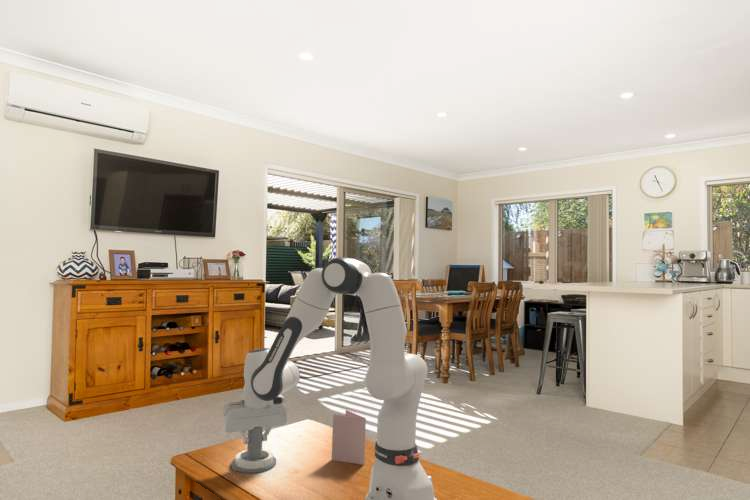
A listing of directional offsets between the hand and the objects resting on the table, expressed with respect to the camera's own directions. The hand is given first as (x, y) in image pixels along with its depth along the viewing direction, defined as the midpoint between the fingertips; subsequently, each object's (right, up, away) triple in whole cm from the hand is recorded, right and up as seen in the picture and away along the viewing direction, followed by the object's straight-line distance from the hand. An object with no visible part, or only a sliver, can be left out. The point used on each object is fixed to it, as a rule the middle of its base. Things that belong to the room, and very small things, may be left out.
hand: (255, 442), depth 155 cm
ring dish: (0, -7, 0) cm, 7 cm away
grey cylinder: (0, -5, 0) cm, 5 cm away
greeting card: (+29, -8, +5) cm, 31 cm away
